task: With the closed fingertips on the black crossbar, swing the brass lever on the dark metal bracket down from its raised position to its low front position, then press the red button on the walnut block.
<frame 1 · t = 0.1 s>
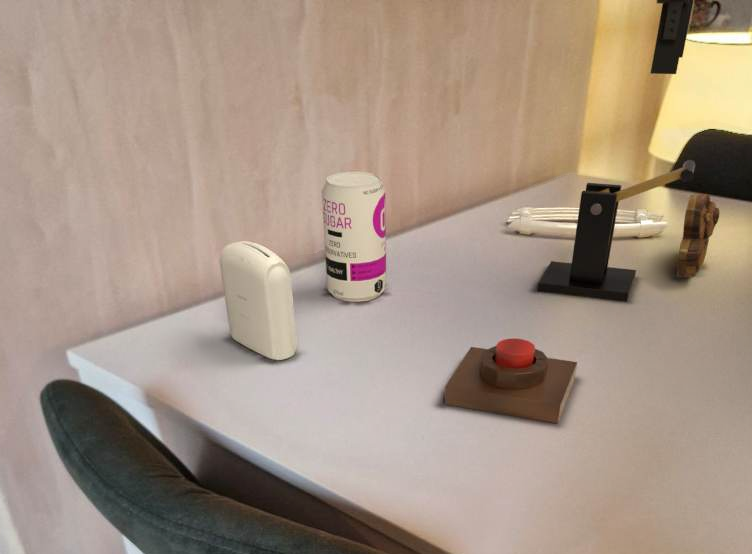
hand: (667, 65, 90), 27 cm above the table, tool pointing down, fingers open, 13 cm apart
wooden carving: (689, 269, 111), on the table
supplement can: (356, 293, 107), on the table
bracket: (586, 284, 107), on the table
lever: (639, 188, 97), point 13 cm above the table, hinge at 25.0°
button block: (510, 391, 83), on the table
white piece: (583, 231, 126), on the table
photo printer: (263, 347, 93), on the table
button: (514, 354, 80), point 4 cm above the table, slide at 0.1 cm
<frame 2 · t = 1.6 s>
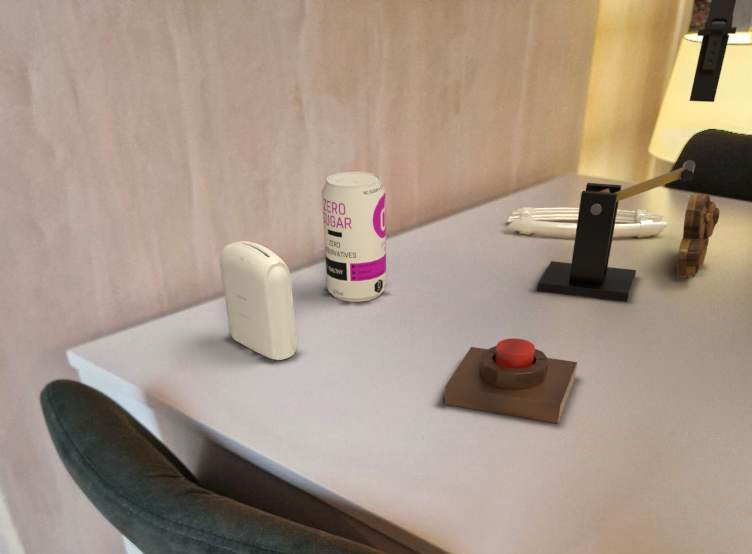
hand: (701, 100, 90), 23 cm above the table, tool pointing down, fingers closed
nothing on the table moved.
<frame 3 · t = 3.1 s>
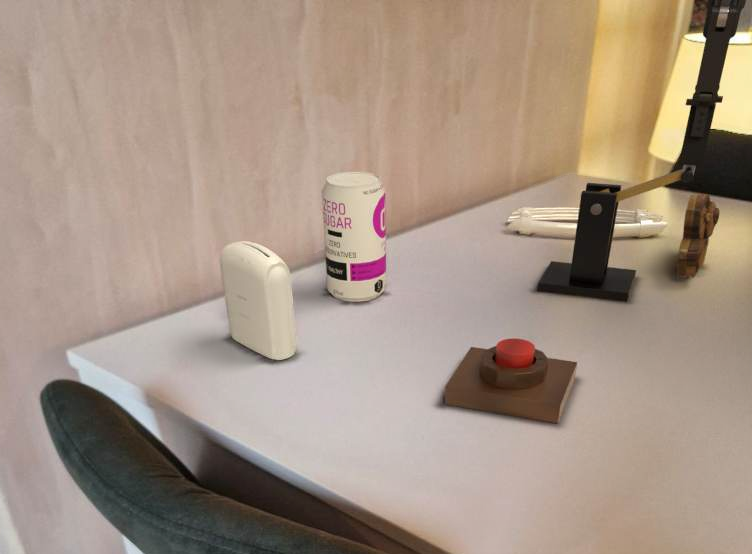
hand: (690, 163, 94), 16 cm above the table, tool pointing down, fingers closed
lever: (639, 189, 97), point 13 cm above the table, hinge at 24.1°, touching gripper
everything else where it was.
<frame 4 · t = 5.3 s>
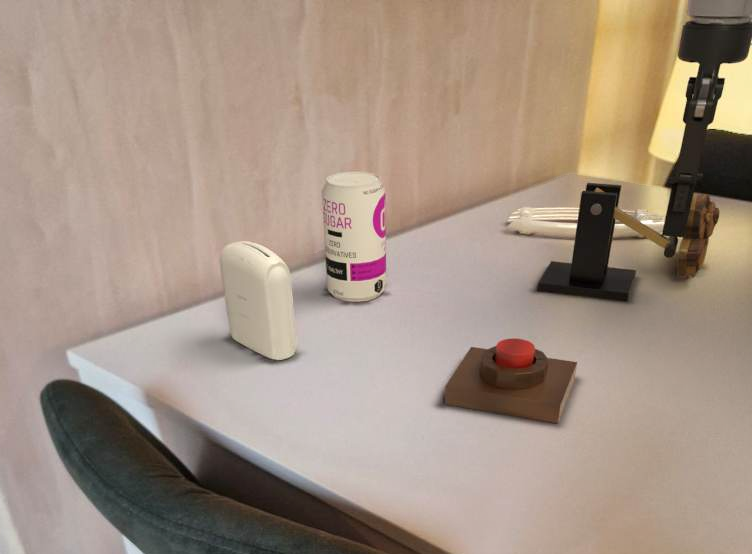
hand: (673, 234, 99), 8 cm above the table, tool pointing down, fingers closed
lever: (633, 223, 100), point 9 cm above the table, hinge at -25.3°, touching gripper
everything else where it was.
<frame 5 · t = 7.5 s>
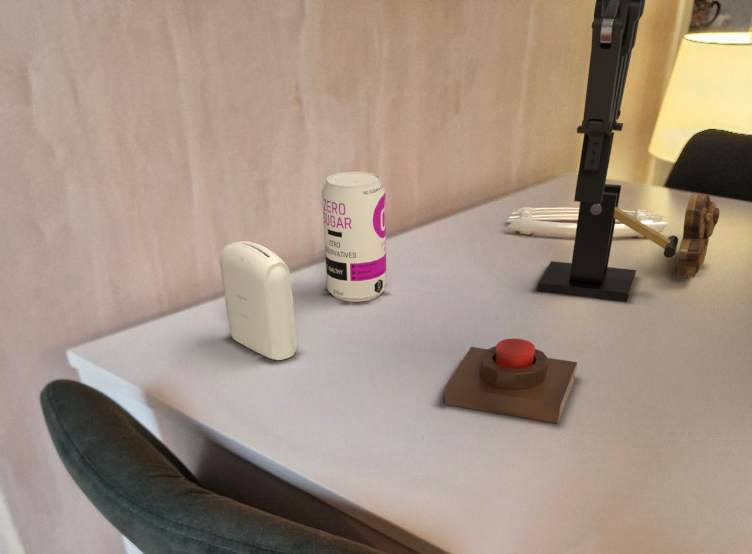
hand: (588, 200, 80), 17 cm above the table, tool pointing down, fingers closed
lever: (633, 223, 100), point 9 cm above the table, hinge at -25.3°
everything else where it was.
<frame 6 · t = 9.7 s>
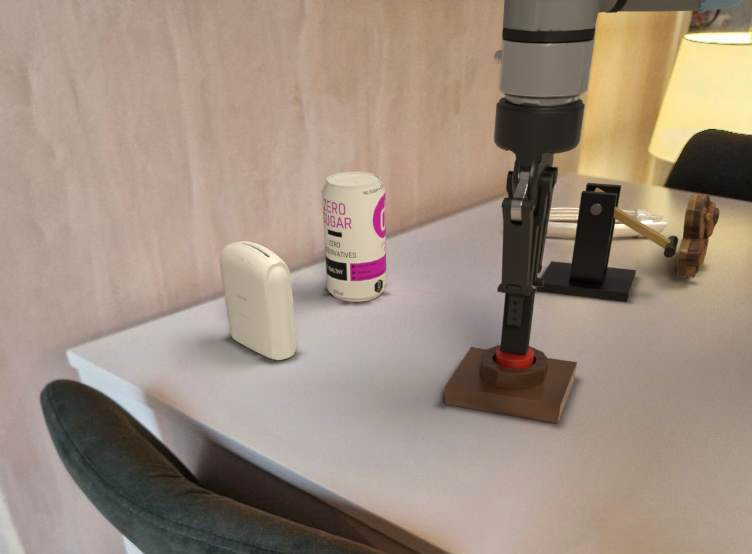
hand: (514, 349, 80), 5 cm above the table, tool pointing down, fingers closed
button: (514, 359, 80), point 4 cm above the table, slide at -0.5 cm, touching gripper
everything else where it was.
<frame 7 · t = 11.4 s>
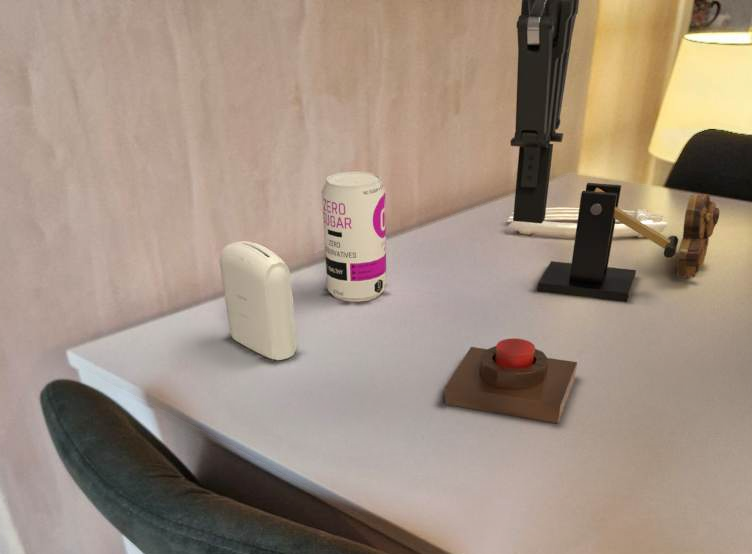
hand: (528, 219, 72), 18 cm above the table, tool pointing down, fingers closed
button: (514, 354, 80), point 4 cm above the table, slide at 0.1 cm
everything else where it was.
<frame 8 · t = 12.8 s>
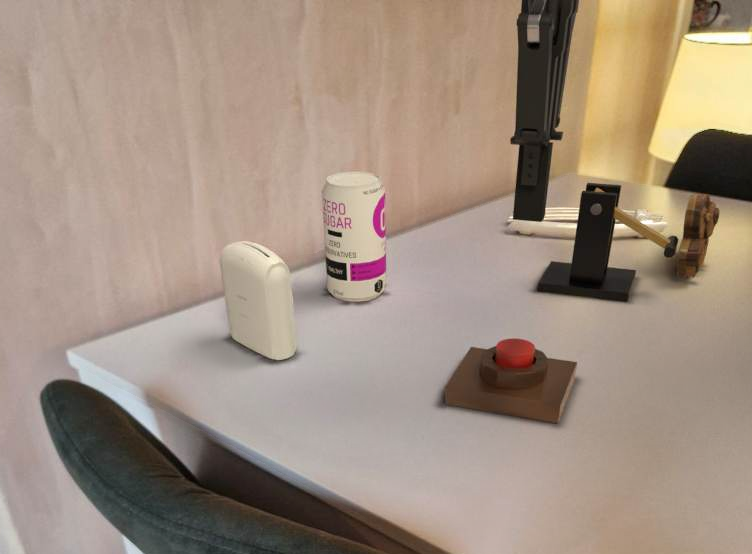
hand: (528, 218, 72), 18 cm above the table, tool pointing down, fingers closed
nothing on the table moved.
at the end: lever at -25° (first picture: +25°); button pushed in 1.0 cm at the most during the clip, back to where it started at the end; button slide at 0.1 cm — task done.
